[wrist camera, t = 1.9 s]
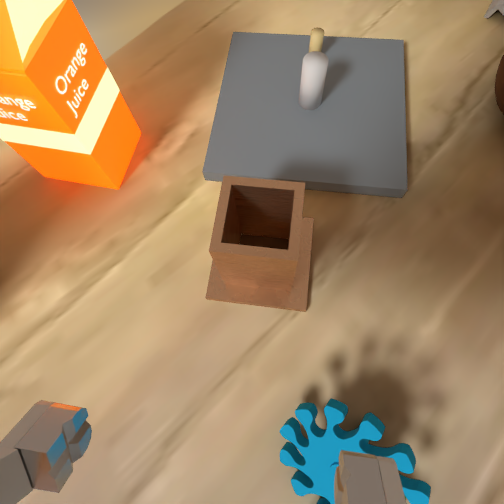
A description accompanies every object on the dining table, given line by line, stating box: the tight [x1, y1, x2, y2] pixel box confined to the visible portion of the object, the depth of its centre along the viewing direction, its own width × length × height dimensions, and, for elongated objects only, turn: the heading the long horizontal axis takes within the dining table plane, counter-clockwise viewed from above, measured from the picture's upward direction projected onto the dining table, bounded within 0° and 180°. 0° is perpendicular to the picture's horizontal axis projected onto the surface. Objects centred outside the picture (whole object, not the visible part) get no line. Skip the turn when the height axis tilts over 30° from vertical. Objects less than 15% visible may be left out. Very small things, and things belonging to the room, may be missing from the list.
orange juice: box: [0, 0, 141, 190], centre depth 28 cm, size 8×9×20 cm
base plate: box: [203, 28, 407, 198], centre depth 35 cm, size 20×20×6 cm
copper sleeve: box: [206, 176, 314, 312], centre depth 28 cm, size 9×9×9 cm
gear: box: [280, 399, 431, 504], centre depth 24 cm, size 11×6×10 cm
